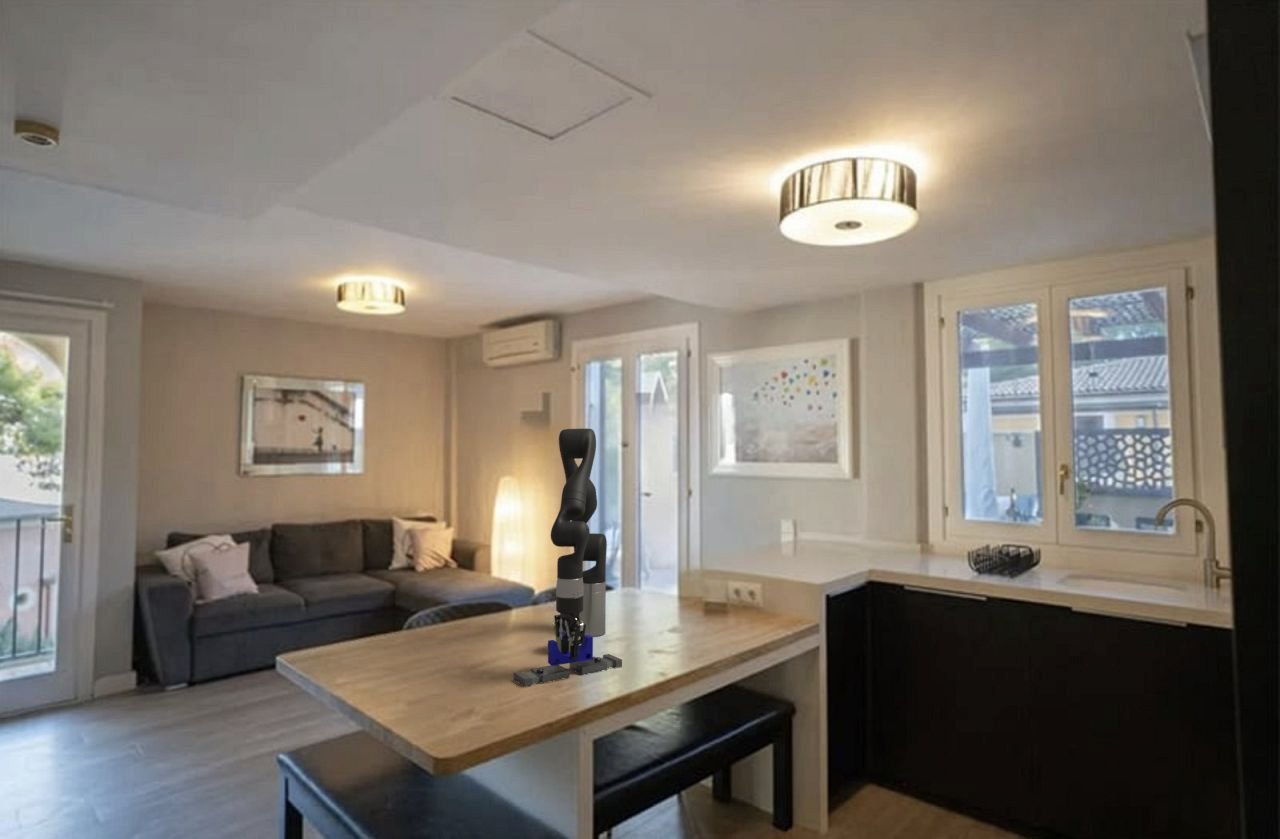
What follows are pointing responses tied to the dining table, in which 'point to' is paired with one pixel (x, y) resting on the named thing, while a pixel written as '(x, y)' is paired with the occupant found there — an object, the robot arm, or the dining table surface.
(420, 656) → the dining table surface
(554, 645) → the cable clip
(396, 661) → the dining table surface
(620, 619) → the dining table surface
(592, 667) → the grey slotted plastic plates
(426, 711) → the dining table surface
